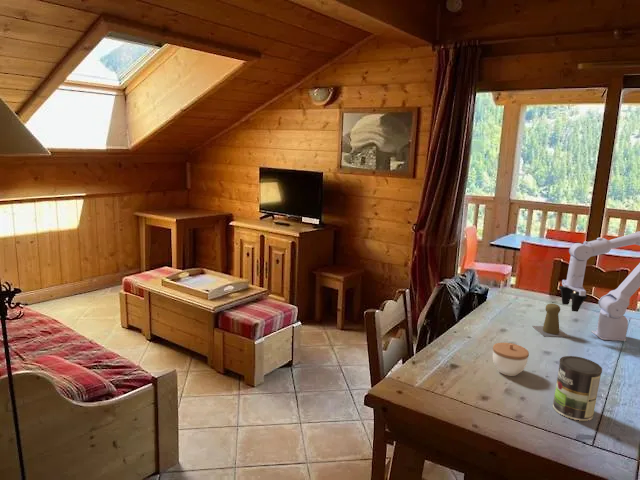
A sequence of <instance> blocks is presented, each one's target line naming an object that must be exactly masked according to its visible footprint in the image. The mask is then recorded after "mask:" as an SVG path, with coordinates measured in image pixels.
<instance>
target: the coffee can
mask: <svg viewBox="0 0 640 480" xmlns="http://www.w3.org/2000/svg"><path fill="white" fill-rule="evenodd" d="M602 373H603V368H602V366H601V365H599V363H597V362H595V361H593V360H590V359H587V358H584V357H581V356H575V355H567V356H566V355H564V356H562V357H560V358H559V366H558V371H557V377H556V385H555V390H554V395H553V401H552V409H553V410H554V411H555V412H556V413H558V414H559V415H560V414H561V415H560V416H562V415H563V416H562V417H564V416H565V418H566V417H567V419H569V418H570V419H569V420H572V419H574V420H573V421H576V420H579V421H578V422H589V421H592V420H593V419H594V414H595V407H596V402H597V397H598V391H599V387H600V381H601V375H602ZM588 420H589V421H588Z"/></svg>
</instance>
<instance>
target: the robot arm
mask: <svg viewBox="0 0 640 480" xmlns="http://www.w3.org/2000/svg"><path fill="white" fill-rule="evenodd" d="M632 245H636V246H640V231H638V230H637V231H635V232H633V233H629V234H626V235H623V236H618V237H615V238H612V239H607V238H604V237H597V238H596V239H593V240H590V241H583V242H581V243H580V242H575V243H574V244H572V245H571V246H570V248H568V253H569V255H570V257H569V263H568V270H567V274H566V279H562V280H561V285H560V286H558V289H559V290H560V291H559V292H560V294H561V304H562V305H564V306H565V305H567V306H568V305H569V304H570V301H571V311H572V312H579V310H580V309H581V306H582V304H583V303H584V301H585V300H587V299H588V295H586V294H587V291H586V289H585V288H584V286H583V284H584V279H585V273H586V267H587V261H588V260H589V259H590V258H591V257H595V256H600V255H605V254H608V253H609V252H611V251H612V249H617V248H621V247H623V248H624V247H627V246H632ZM639 289H640V262H639V263H638V264H637V265H636V267H634V269H633V270H632V271H631V272H630V273H629V274H628V275H627V276H626V278H625V279H624V280H623V281H622V282H621V283H620V284H619V285H618V287H616V288H615V289H612V290H610V291H609V292H608V293H606V294H604V295H602V296H601V297H600V298H599V300H598V307H599V308H600V311H599V314H598V321H597V325H596V326H597V327H596V330H591V331H590V332H591V333H592V334H593V335H595V336H596V337H598V338H599V339H600V340H603V341H604V340H605V341H623V342H624V341H627V339H626V336H627V332H628V327H629V323H628V318H627V317H626V316H625V314H626V313H627V312H626V311H627V309H628V307H629V306H630V299H631V297H632V296H633V295H634V294H635V293H636V292H637V291H638V290H639Z"/></svg>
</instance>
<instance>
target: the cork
mask: <svg viewBox="0 0 640 480" xmlns="http://www.w3.org/2000/svg"><path fill="white" fill-rule="evenodd" d="M545 312H546V313H545V314H546V315H545V317H544V318H545V319H544V323H543V325H542V326H543V331H544V332H546V333H549V334H558V333H559V329H560V321H559V319H560V318H559V314H560V313H561V307H560V306H559V304H556V303H547V305H546V306H545Z"/></svg>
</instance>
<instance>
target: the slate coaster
mask: <svg viewBox="0 0 640 480" xmlns="http://www.w3.org/2000/svg"><path fill="white" fill-rule="evenodd" d="M543 326H544V325H532V328H534V329H535V331H536V332H538V333H539V334H540V335H541V336H542V337H543V338H549V337H550V338H570V336H569V335H568V334H567V333H565V332H564V331H563V330H562V329H560V328H559V333H558V334H549V333H546V332H544V331H543Z"/></svg>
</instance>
